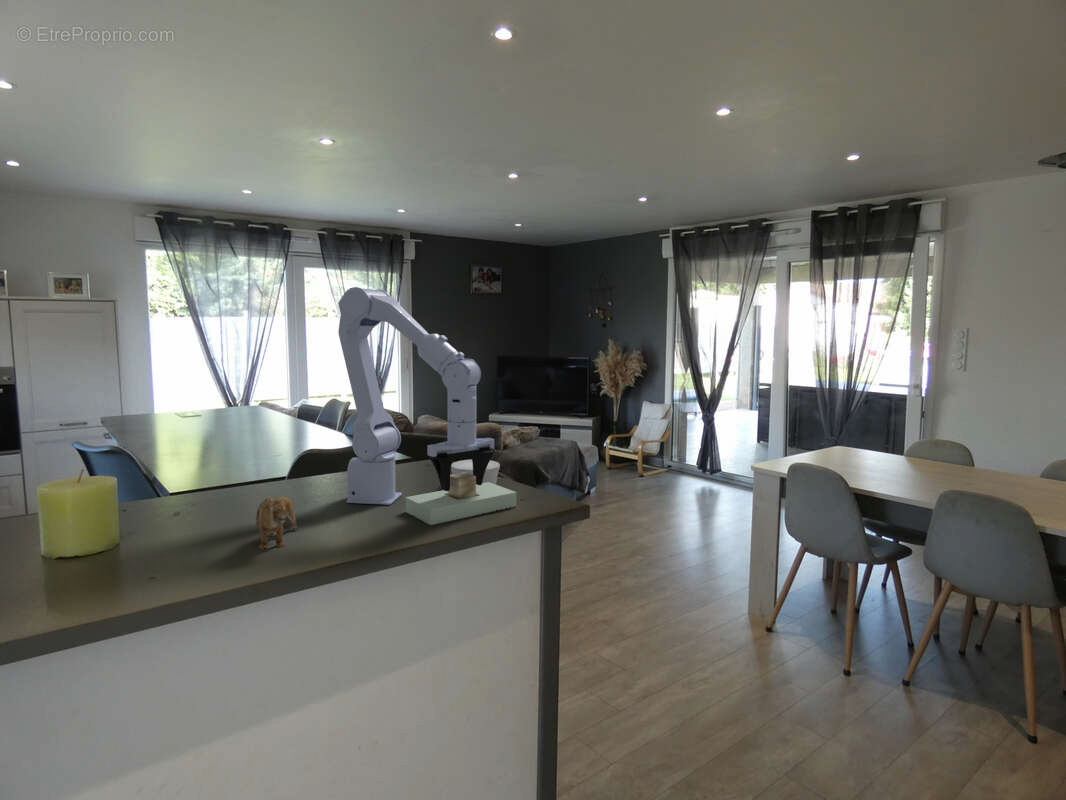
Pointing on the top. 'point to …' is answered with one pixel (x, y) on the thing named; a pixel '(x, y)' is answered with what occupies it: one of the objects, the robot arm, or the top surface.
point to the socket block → (459, 504)
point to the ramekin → (468, 468)
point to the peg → (462, 486)
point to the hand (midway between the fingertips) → (461, 487)
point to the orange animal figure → (274, 519)
